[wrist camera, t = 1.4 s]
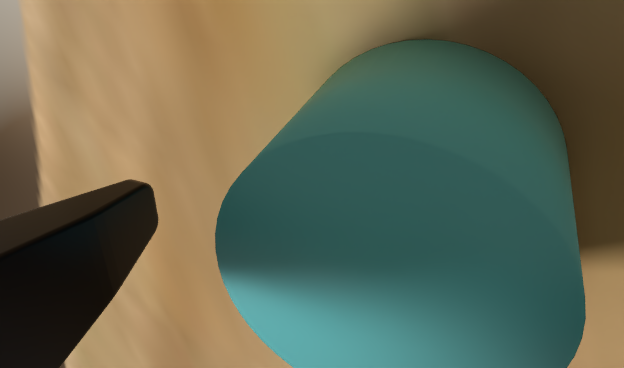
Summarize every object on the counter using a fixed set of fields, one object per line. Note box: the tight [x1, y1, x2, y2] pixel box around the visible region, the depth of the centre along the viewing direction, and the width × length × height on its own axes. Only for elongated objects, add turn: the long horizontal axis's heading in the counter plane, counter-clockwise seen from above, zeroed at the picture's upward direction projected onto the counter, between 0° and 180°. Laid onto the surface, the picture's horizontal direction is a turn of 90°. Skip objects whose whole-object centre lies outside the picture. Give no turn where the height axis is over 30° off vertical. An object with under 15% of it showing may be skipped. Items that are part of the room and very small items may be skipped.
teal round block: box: [215, 39, 586, 368], centre depth 9 cm, size 6×6×4 cm
